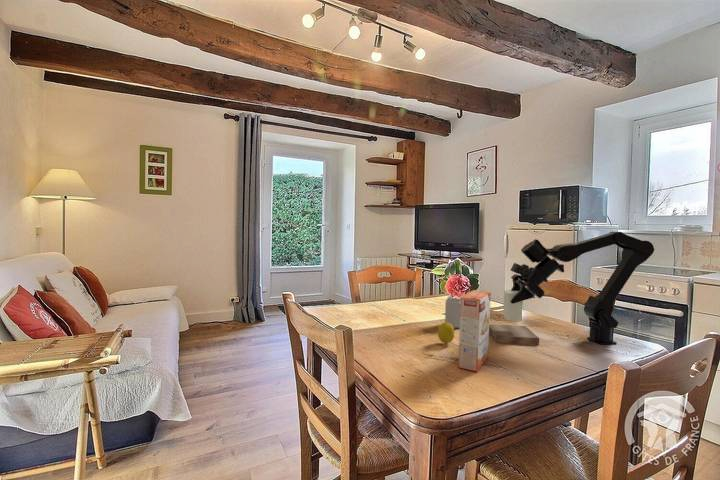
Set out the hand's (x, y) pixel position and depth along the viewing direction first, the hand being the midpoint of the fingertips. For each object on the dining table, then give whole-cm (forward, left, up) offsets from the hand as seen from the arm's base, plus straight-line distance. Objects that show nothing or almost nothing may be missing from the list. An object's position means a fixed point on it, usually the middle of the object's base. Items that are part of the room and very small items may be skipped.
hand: (509, 301), depth 129 cm
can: (+15, -15, -14) cm, 25 cm away
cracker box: (+23, +21, -14) cm, 34 cm away
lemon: (+26, +5, -14) cm, 30 cm away
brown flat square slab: (-1, 0, -14) cm, 14 cm away
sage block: (-1, 0, -7) cm, 7 cm away
